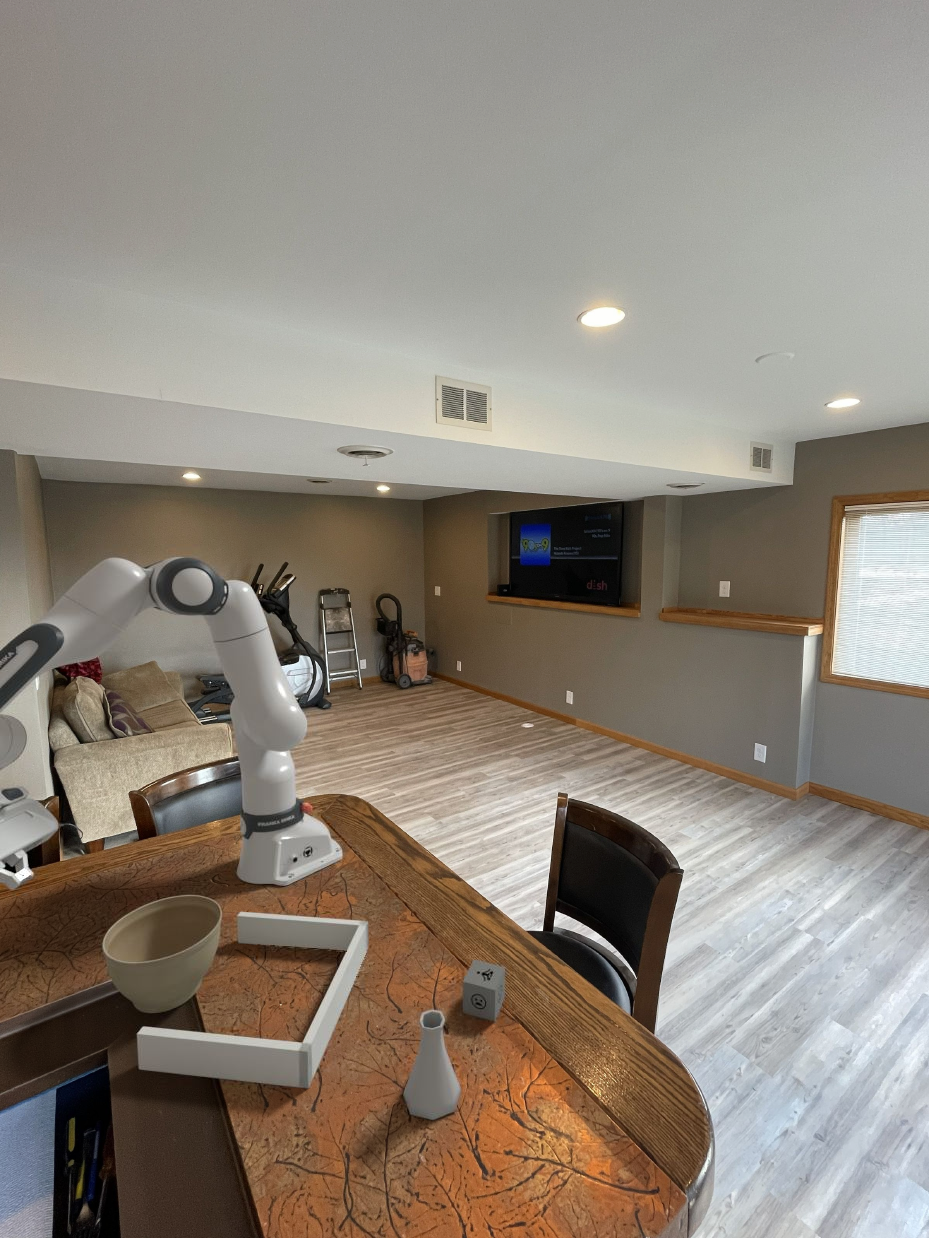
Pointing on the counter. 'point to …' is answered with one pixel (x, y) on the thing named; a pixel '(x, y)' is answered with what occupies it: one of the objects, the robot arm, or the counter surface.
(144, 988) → the planter bowl
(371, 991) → the counter surface
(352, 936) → the box
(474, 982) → the dice cube
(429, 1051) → the flask
